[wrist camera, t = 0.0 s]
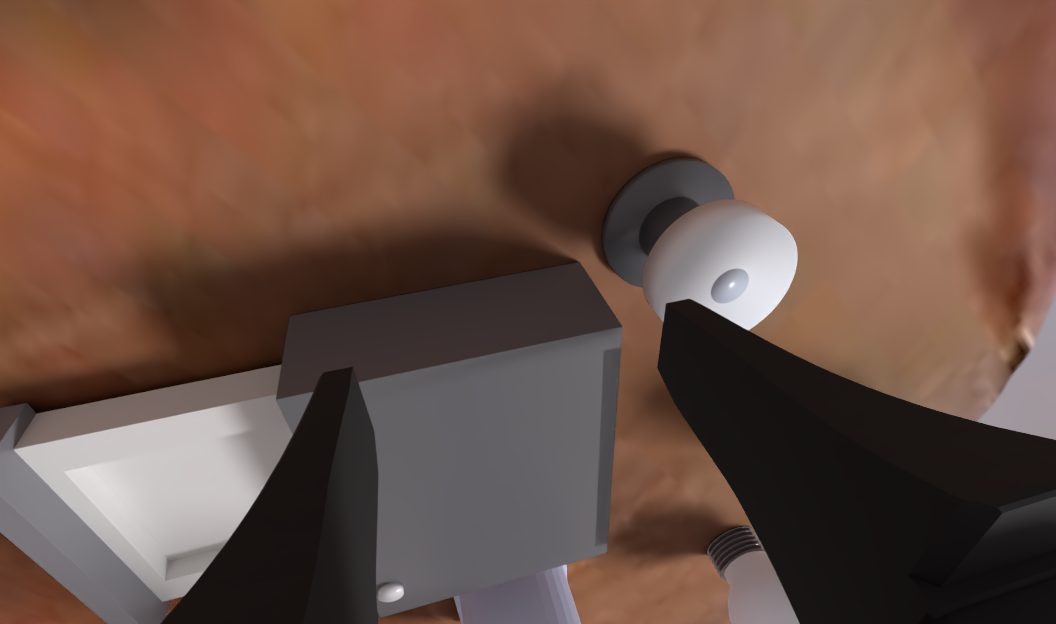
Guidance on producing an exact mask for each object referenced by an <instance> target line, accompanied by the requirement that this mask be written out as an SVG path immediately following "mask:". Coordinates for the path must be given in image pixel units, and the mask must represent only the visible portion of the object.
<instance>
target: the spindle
mask: <svg viewBox="0 0 1056 624" xmlns="http://www.w3.org/2000/svg"><path fill="white" fill-rule="evenodd" d="M724 199H734V194H733V191H732V188H731V186H730V184H729V182H728V180H727V179H726V178H725V176H724V175H723V174H722V173H721V172H719V171H718V170H717V169H715V168H714V167H712V166H711V165H709V164H708V163H706V162H704V161H701V160H699V159H694V158H685V157H681V158H672V159H667V160H664V161H661V162H658V163H655V164H653V165H651V166H649V167H647V168H646V169H644V170H643V171H641V172H639V173H638V174H637V175H636V176H634V177H633V178H632V179H631V180H630V181H629V182H628V183H627V184H626V185H625V186H624V187H623V188H622V189H621V190H620V191H619V193H618V194H617V195H616V197H615V198H614V200H613V202H612V203H611V205H610V207H609V209H608V211H607V214H606V217H605V220H604V224H603V229H602V246H603V251H604V254H605V257H606V259H607V261H608V263H609V264H610V266H611V267H612V268H613V270H614V271H615V272H616V274H617V275H618V276H619V277H621V278H622V279H623V280H624V281H626V282H628V283H630V284H632V285H634V286H638V287H642V288H643V285H642V284H643V272H644V267H645V264H646V260H647V258H648V256H649V254H650V252H651V250H652V248H653V246H654V245H655V243H656V242H657V240H658V239H659V237H660V236H661V235H662V234H663V233H664V232H665V230H666V229H667V228H668V227H669V226H670V225H671V224H673V223H674V222H675V221H676V220H677V219H679V218H680V217H681V216H682V215H684V214H686V213H687V212H689V211H690V210H692V209H694V208H696V207H698V206H700V205H703V204H706V203H709V202H712V201H717V200H724Z"/></svg>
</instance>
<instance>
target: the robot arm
mask: <svg viewBox="0 0 1056 624" xmlns="http://www.w3.org/2000/svg"><path fill="white" fill-rule="evenodd" d="M657 368H658V370H659V372H660V374H661V376H662V378H663V381H664V383H665V385H666V387H667V389H668V391H669V393H670V395H671V397H672V399H673V401H674V403H675V404H676V406H677V407H678V409H679V410H680V412H681V414H682V415H683V417H684V418H685V420H686V421H687V423H688V424H689V426H690V427H691V429H692V430H693V432H694V433H695V434H696V436H697V437H698V439H699V440H700V442H701V443H702V445H703V446H704V448H705V449H706V451H707V452H708V454H709V455H710V457H711V458H712V459H713V461H714V462H715V464H716V465H717V467H718V468H719V470H720V471H721V473H722V474H723V476H724V477H725V479H726V480H727V482H728V484H729V485H730V487H731V488H732V490H733V492H734V493H735V495H736V497H737V498H738V500H739V502H740V504H741V506H742V508H743V510H744V511H745V513H746V515H747V517H748V519H749V521H750V523H751V524H752V526H753V528H754V530H755V532H756V534H757V536H758V538H759V540H760V542H761V544H762V546H763V548H764V550H765V552H766V554H767V556H768V558H769V560H770V562H771V564H772V566H773V568H774V570H775V572H776V574H777V576H778V578H779V580H780V582H781V584H782V587H783V589H784V591H785V593H786V595H787V597H788V599H789V602H790V604H791V606H792V608H793V610H794V612H795V614H796V617H797V619H798V621H799V623H800V624H1056V440H1053V439H1048V438H1044V437H1040V436H1035V435H1030V434H1026V433H1021V432H1016V431H1012V430H1008V429H1003V428H998V427H994V426H990V425H986V424H983V423H979V422H975V421H972V420H968V419H964V418H961V417H957V416H953V415H949V414H946V413H943V412H939V411H936V410H933V409H929V408H926V407H923V406H920V405H917V404H914V403H911V402H908V401H905V400H902V399H899V398H896V397H893V396H890V395H887V394H884V393H882V392H879V391H876V390H874V389H871V388H868V387H866V386H863V385H861V384H858V383H856V382H853V381H851V380H848V379H846V378H844V377H841V376H839V375H836V374H834V373H832V372H829V371H827V370H825V369H823V368H820V367H818V366H816V365H814V364H812V363H810V362H808V361H806V360H804V359H802V358H800V357H797V356H795V355H793V354H791V353H789V352H787V351H785V350H783V349H782V348H780V347H778V346H776V345H774V344H772V343H770V342H768V341H766V340H764V339H763V338H761V337H759V336H757V335H755V334H753V333H752V332H750V331H748V330H746V329H744V328H743V327H741V326H739V325H737V324H736V323H734V322H732V321H730V320H729V319H727V318H725V317H723V316H721V315H720V314H718V313H716V312H714V311H712V310H711V309H709V308H707V307H705V306H703V305H702V304H700V303H698V302H696V301H694V300H692V299H685V300H680V301H675V302H670V303H666V307H665V314H664V322H663V329H662V337H661V344H660V352H659V359H658V367H657ZM377 516H378V463H377V452H376V442H375V432H374V428H373V425H372V422H371V419H370V416H369V413H368V410H367V407H366V404H365V401H364V398H363V395H362V392H361V389H360V386H359V383H358V380H357V377H356V374H355V371H354V368H353V367H348V368H343V369H338V370H333V371H328V372H323V374H322V375H321V376H320V377H319V380H318V382H317V385H316V387H315V389H314V392H313V394H312V396H311V398H310V401H309V403H308V405H307V407H306V409H305V411H304V413H303V416H302V418H301V420H300V422H299V424H298V426H297V428H296V430H295V432H294V434H293V435H292V437H291V439H290V441H289V443H288V445H287V447H286V449H285V451H284V453H283V454H282V456H281V458H280V460H279V462H278V463H277V465H276V467H275V468H274V470H273V472H272V473H271V475H270V477H269V478H268V480H267V482H266V484H265V485H264V487H263V489H262V490H261V492H260V494H259V495H258V497H257V498H256V500H255V501H254V503H253V505H252V506H251V508H250V509H249V511H248V512H247V514H246V515H245V517H244V518H243V520H242V521H241V523H240V524H239V525H238V527H237V528H236V530H235V531H234V532H233V534H232V535H231V537H230V538H229V540H228V541H227V542H226V544H225V545H224V546H223V548H222V549H221V550H220V552H219V553H218V554H217V556H216V557H215V558H214V559H213V561H212V562H211V563H210V565H209V566H208V567H207V569H206V570H205V571H204V572H203V574H202V575H201V576H200V578H199V579H198V580H197V581H196V583H195V584H194V585H193V586H192V587H191V589H190V590H189V591H188V592H187V594H186V595H185V596H184V597H183V598H182V600H181V601H180V602H179V603H178V604H177V605H176V607H175V608H174V609H173V610H172V611H171V612H170V613H169V614H168V616H167V617H166V618H165V619H164V620H163V621H162V622H161V623H160V624H378V612H377V598H376V552H377ZM454 600H455V604H456V607H457V611H458V614H459V618H460V621H461V624H581V622H580V619H579V616H578V613H577V610H576V607H575V603H574V600H573V597H572V594H571V591H570V588H569V585H568V582H567V564H566V565H563V566H559V567H556V568H552V569H549V570H545V571H542V572H539V573H535V574H532V575H528V576H525V577H521V578H518V579H514V580H511V581H507V582H504V583H500V584H497V585H493V586H490V587H486V588H483V589H479V590H476V591H472V592H469V593H465V594H462V595H459V596H455V597H454Z"/></svg>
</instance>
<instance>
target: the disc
mask: <svg viewBox="0 0 1056 624" xmlns="http://www.w3.org/2000/svg"><path fill="white" fill-rule="evenodd" d="M797 258H798V256H797V247H796V243H795V241H794V238H793V236H792V235H791V234H790V232H789V231H788V230H787V229H786V228H785V227H784V226H782V225H781V224H780V223H778V222H777V221H775V220H774V219H772V218H771V217H770V216H768V215H767V214H765V213H764V212H763V211H761V210H760V209H758V208H757V207H755V206H754V205H752V204H750V203H748V202H745V201H742V200H736V199H724V200H717V201H712V202H709V203H706V204H703V205H700V206H698V207H696V208H694V209H692V210H690V211H689V212H687V213H686V214H684V215H682V216H681V217H680V218H679V219H677V220H676V221H675V222H674V223H673V224H671V225H670V226H669V227H668V228H667V229H666V230H665V232H664V233H663V234H662V235H661V236H660V237H659V239H658V240H657V242H656V243H655V245H654V246H653V248H652V250H651V252H650V254H649V256H648V258H647V260H646V264H645V267H644V272H643V284H642V285H643V292H644V295H645V298H646V300H647V302H648V304H649V305H650V306H651V308H652V309H653V310H654V312H655V313H656V314H657V316H658V317H659V318H660V319H661V321H662V322H664V314H665V307H666V303H670V302H675V301H680V300H685V299H692V300H694V301H696V302H698V303H700V304H702V305H703V306H705V307H707V308H709V309H711V310H712V311H714V312H716V313H718V314H720V315H721V316H723V317H725V318H727V319H729V320H730V321H732V322H734V323H736V324H737V325H739V326H741V327H743V328H744V329H746V330H749V329H751V328H752V327H754V326H755V325H757V324H758V323H759V322H761V321H762V320H763V319H764V318H765V317H766V316H767V315H768V314H770V313H771V312H772V311H773V309H774V308H775V307H776V306H777V305H778V304H779V302H780V301H781V300H782V298H783V297H784V295H785V294H786V292H787V290H788V289H789V287H790V284H791V282H792V280H793V277H794V274H795V271H796V267H797Z"/></svg>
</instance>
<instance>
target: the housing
mask: <svg viewBox="0 0 1056 624" xmlns="http://www.w3.org/2000/svg"><path fill="white" fill-rule="evenodd" d="M621 339H622V325H621V324H620V322H619V321H618V319H617V318H616V316H615V315H614V313H613V312H612V310H611V309H610V307H609V306H608V304H607V303H606V301H605V300H604V298H603V297H602V295H601V294H600V292H599V291H598V289H597V288H596V286H595V284H594V283H593V281H592V280H591V278H590V277H589V275H588V274H587V272H586V271H585V269H584V268H583V266H582V265H581V263H580V262H576V263H571V264H566V265H560V266H555V267H549V268H544V269H539V270H533V271H528V272H523V273H517V274H512V275H506V276H501V277H496V278H490V279H485V280H480V281H474V282H469V283H463V284H458V285H453V286H447V287H442V288H437V289H431V290H426V291H420V292H415V293H410V294H404V295H399V296H394V297H388V298H383V299H377V300H372V301H367V302H361V303H356V304H351V305H345V306H340V307H334V308H329V309H324V310H318V311H313V312H308V313H302V314H297V315H291V316H290V317H289V323H288V329H287V335H286V341H285V347H284V353H283V359H282V365H281V371H280V377H279V383H278V389H277V395H276V401H277V404H278V406H279V408H280V410H281V412H282V414H283V416H284V418H285V420H286V422H287V424H288V426H289V429H290V431H291V433H292V435H293V434H294V432H295V430H296V428H297V426H298V424H299V422H300V420H301V418H302V416H303V413H304V411H305V409H306V407H307V405H308V403H309V401H310V398H311V396H312V394H313V392H314V389H315V387H316V385H317V382H318V380H319V377H320V376H321V375H322V374H323V372H328V371H333V370H338V369H343V368H348V367H353V368H354V371H355V374H356V377H357V380H358V383H359V386H360V389H361V392H362V395H363V398H364V401H365V404H366V407H367V410H368V413H369V416H370V419H371V422H372V425H373V428H374V432H375V442H376V452H377V463H378V516H377V552H376V598H377V612H378V614H379V616H380V618H382V617H386V616H389V615H392V614H396V613H399V612H403V611H406V610H410V609H413V608H417V607H420V606H424V605H427V604H431V603H434V602H438V601H441V600H445V599H448V598H452V597H455V596H459V595H462V594H465V593H469V592H472V591H476V590H479V589H483V588H486V587H490V586H493V585H497V584H500V583H504V582H507V581H511V580H514V579H518V578H521V577H525V576H528V575H532V574H535V573H539V572H542V571H545V570H549V569H552V568H556V567H559V566H563V565H566V564H570V563H573V562H577V561H580V560H584V559H587V558H591V557H594V556H598V555H601V554H605V553H607V543H608V529H609V514H610V500H611V485H612V470H613V456H614V441H615V427H616V412H617V397H618V383H619V368H620V354H621Z"/></svg>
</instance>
